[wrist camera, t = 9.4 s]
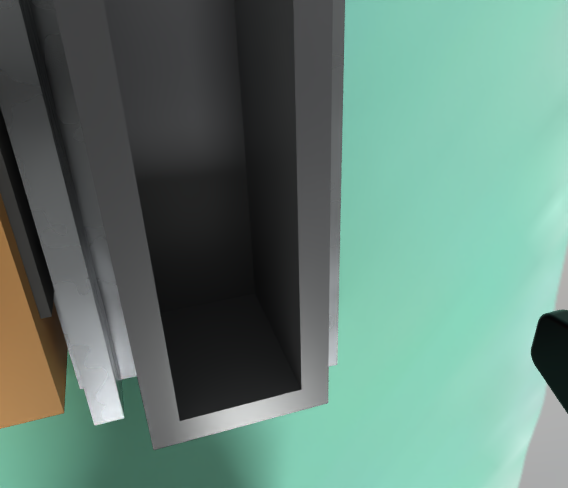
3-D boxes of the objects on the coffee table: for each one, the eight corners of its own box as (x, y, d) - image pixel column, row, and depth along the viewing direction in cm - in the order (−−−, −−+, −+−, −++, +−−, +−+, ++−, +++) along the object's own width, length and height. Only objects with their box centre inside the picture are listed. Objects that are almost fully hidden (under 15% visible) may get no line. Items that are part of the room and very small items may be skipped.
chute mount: (322, 319, 23) (349, 361, 21) (80, 375, 20) (79, 429, 18) (324, -131, 15) (367, -145, 13) (-68, -130, 13) (-104, -148, 10)
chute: (269, 292, 20) (328, 403, 15) (136, 320, 19) (153, 450, 14) (252, -29, 15) (333, -19, 10) (65, -20, 14) (52, -3, 9)
